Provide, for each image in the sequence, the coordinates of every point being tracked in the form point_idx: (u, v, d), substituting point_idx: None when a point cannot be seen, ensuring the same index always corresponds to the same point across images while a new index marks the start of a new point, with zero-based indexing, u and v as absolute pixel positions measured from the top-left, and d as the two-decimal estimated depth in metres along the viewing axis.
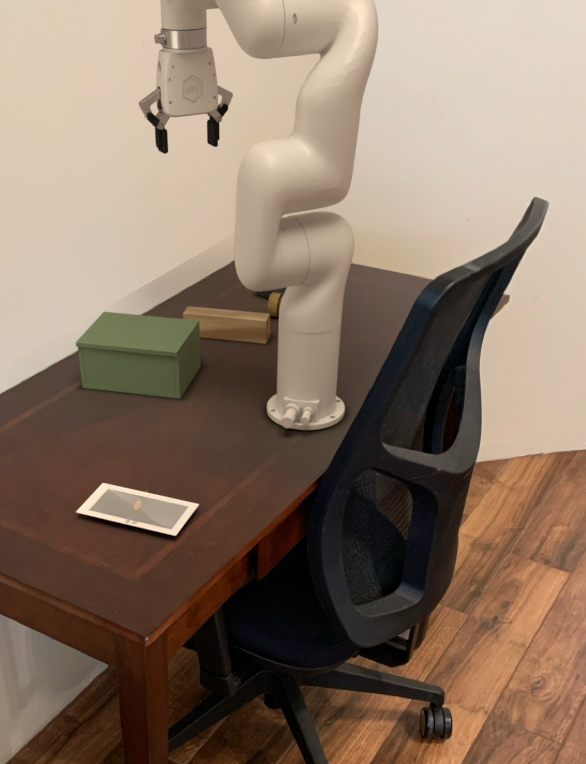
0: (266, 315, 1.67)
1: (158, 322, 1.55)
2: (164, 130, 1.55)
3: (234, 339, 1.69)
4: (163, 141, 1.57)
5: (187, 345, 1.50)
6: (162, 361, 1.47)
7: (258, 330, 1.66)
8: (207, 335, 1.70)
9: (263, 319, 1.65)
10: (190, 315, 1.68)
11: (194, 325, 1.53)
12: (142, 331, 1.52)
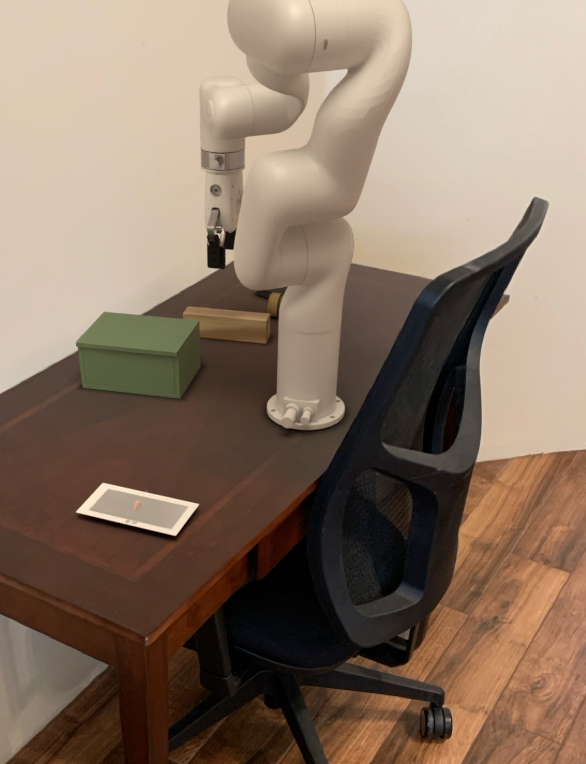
0: (266, 315, 1.67)
1: (158, 322, 1.55)
2: (224, 247, 1.56)
3: (234, 339, 1.69)
4: (222, 257, 1.57)
5: (187, 345, 1.50)
6: (162, 361, 1.47)
7: (258, 330, 1.66)
8: (207, 335, 1.70)
9: (263, 319, 1.65)
10: (190, 315, 1.68)
11: (194, 325, 1.53)
12: (142, 331, 1.52)
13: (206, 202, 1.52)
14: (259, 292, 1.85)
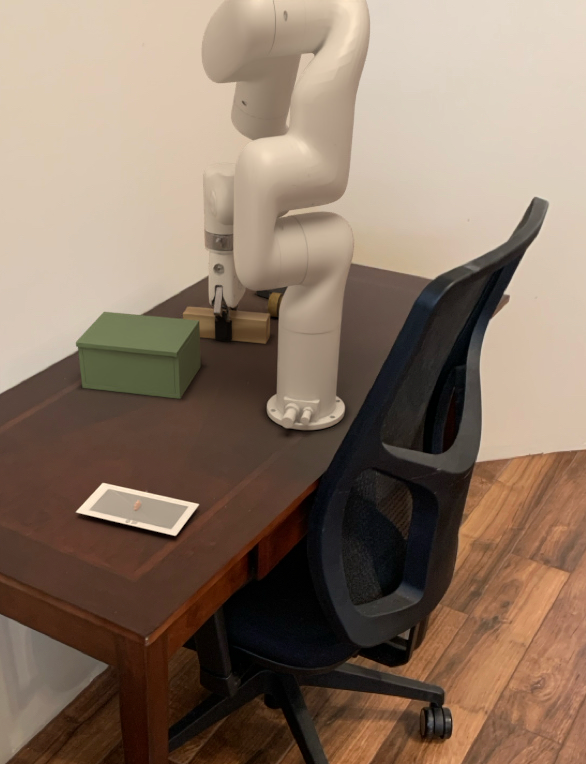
0: (266, 315, 1.67)
1: (158, 322, 1.55)
2: (231, 322, 1.66)
3: (234, 339, 1.69)
4: (229, 331, 1.67)
5: (187, 345, 1.50)
6: (162, 361, 1.47)
7: (258, 330, 1.66)
8: (207, 335, 1.70)
9: (263, 319, 1.65)
10: (190, 315, 1.68)
11: (194, 325, 1.53)
12: (142, 331, 1.52)
13: (210, 280, 1.60)
14: (259, 292, 1.85)
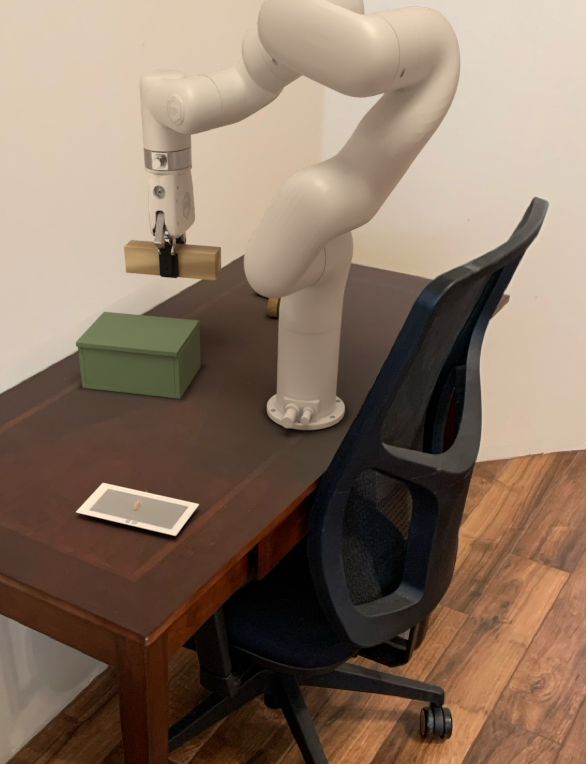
0: (216, 249, 1.49)
1: (158, 322, 1.55)
2: (177, 255, 1.48)
3: (181, 276, 1.51)
4: (175, 266, 1.49)
5: (187, 345, 1.50)
6: (162, 361, 1.47)
7: (206, 264, 1.48)
8: (151, 271, 1.52)
9: (212, 252, 1.47)
10: (131, 248, 1.51)
11: (194, 325, 1.53)
12: (142, 331, 1.52)
13: (150, 205, 1.42)
14: None
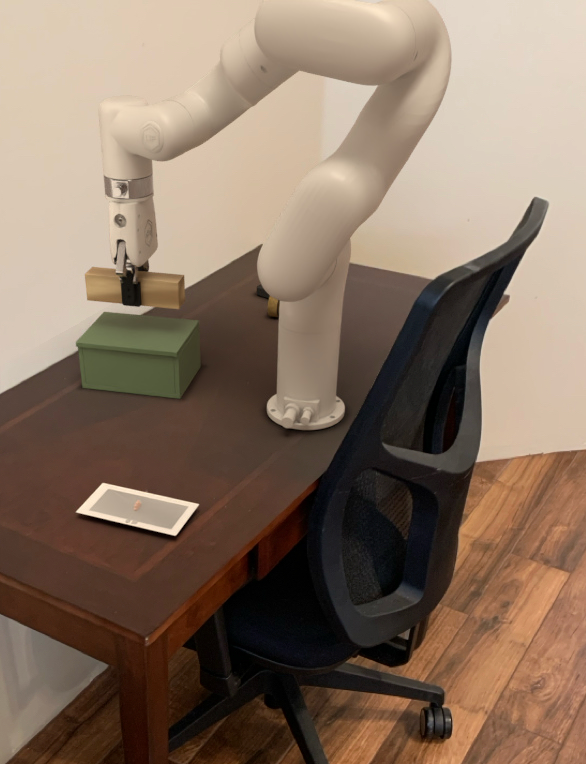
0: (179, 277, 1.45)
1: (158, 322, 1.55)
2: (139, 283, 1.45)
3: (143, 304, 1.47)
4: (137, 294, 1.46)
5: (187, 345, 1.50)
6: (162, 361, 1.47)
7: (169, 293, 1.45)
8: (113, 299, 1.48)
9: (175, 281, 1.44)
10: (92, 276, 1.47)
11: (194, 325, 1.53)
12: (142, 331, 1.52)
13: (110, 233, 1.38)
14: (259, 292, 1.85)
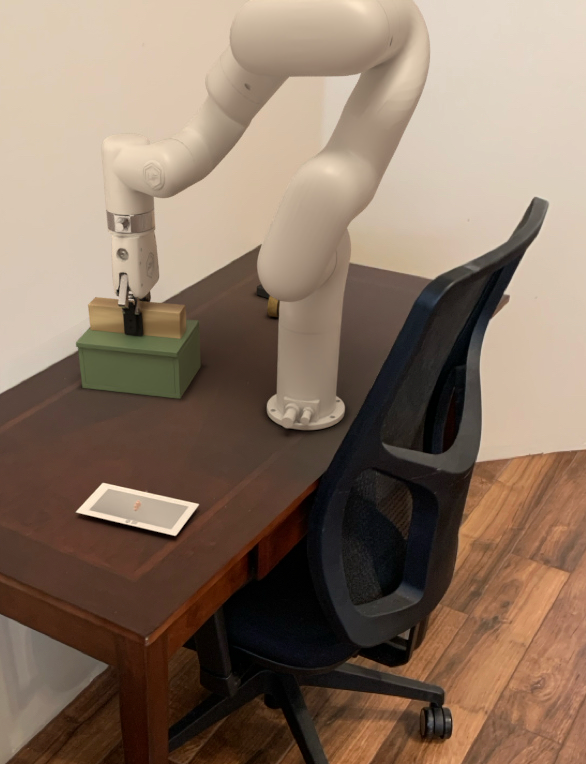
0: (181, 307, 1.48)
1: None
2: (141, 314, 1.48)
3: (146, 334, 1.50)
4: (139, 325, 1.49)
5: (187, 345, 1.50)
6: (162, 361, 1.47)
7: (171, 323, 1.48)
8: (116, 329, 1.51)
9: (176, 311, 1.47)
10: (96, 307, 1.50)
11: (194, 325, 1.53)
12: None
13: (113, 266, 1.41)
14: (259, 292, 1.85)
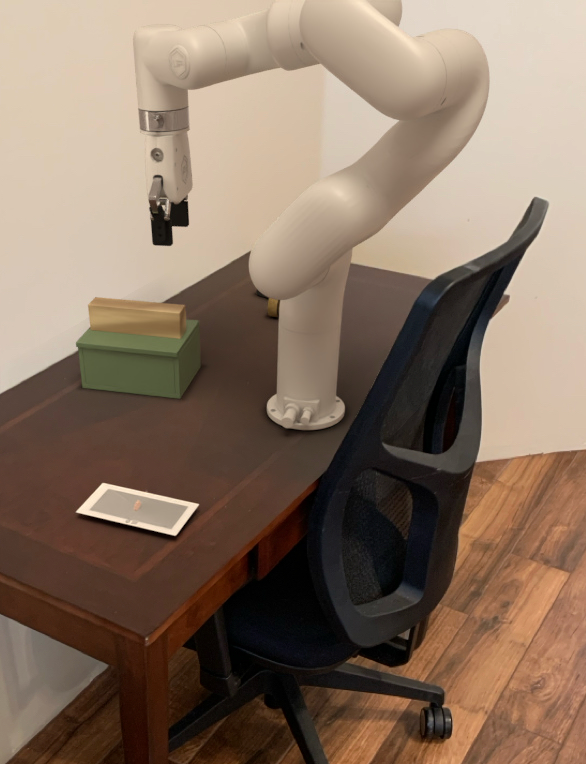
0: (181, 307, 1.48)
1: None
2: (170, 220, 1.38)
3: (146, 334, 1.50)
4: (169, 233, 1.39)
5: (187, 345, 1.50)
6: (162, 361, 1.47)
7: (171, 323, 1.48)
8: (116, 329, 1.51)
9: (176, 311, 1.47)
10: (96, 307, 1.50)
11: (194, 325, 1.53)
12: None
13: (147, 169, 1.34)
14: (259, 292, 1.85)
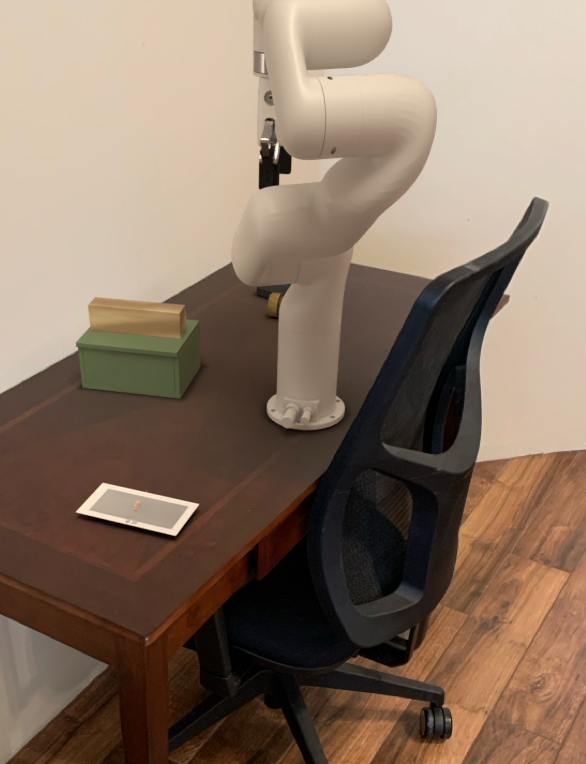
0: (181, 307, 1.48)
1: None
2: (279, 165, 1.39)
3: (146, 334, 1.50)
4: (276, 177, 1.40)
5: (187, 345, 1.50)
6: (162, 361, 1.47)
7: (171, 323, 1.48)
8: (116, 329, 1.51)
9: (176, 311, 1.47)
10: (96, 307, 1.50)
11: (194, 325, 1.53)
12: None
13: (259, 112, 1.36)
14: (259, 292, 1.85)
